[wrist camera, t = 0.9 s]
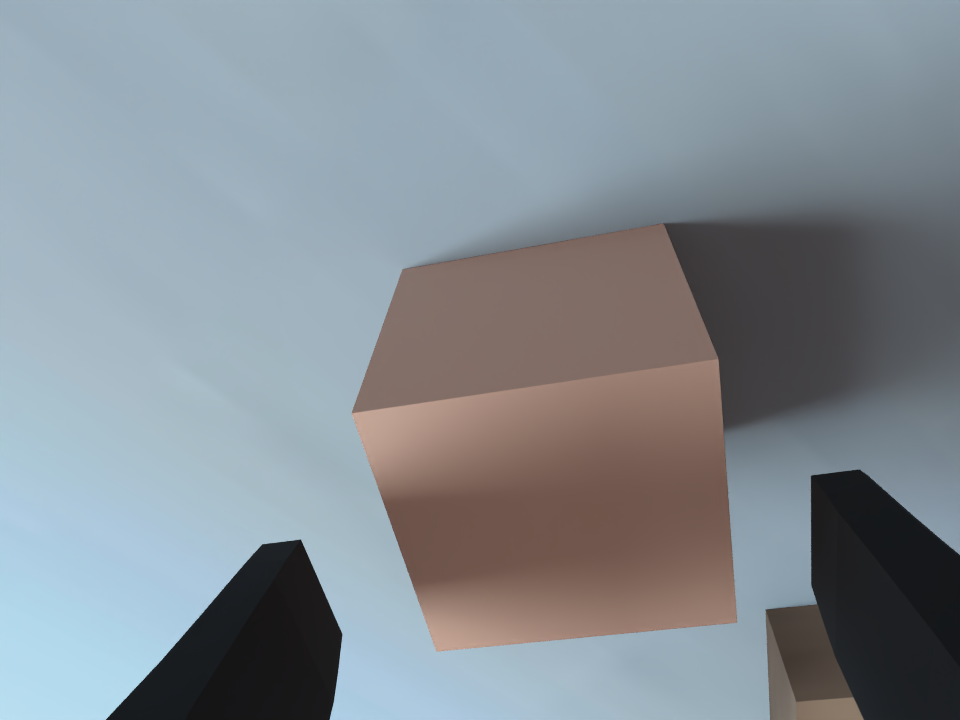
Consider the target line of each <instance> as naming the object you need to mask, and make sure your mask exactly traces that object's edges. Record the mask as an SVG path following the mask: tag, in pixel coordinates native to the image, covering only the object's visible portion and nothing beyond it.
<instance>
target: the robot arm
mask: <svg viewBox="0 0 960 720" xmlns="http://www.w3.org/2000/svg"><path fill="white" fill-rule="evenodd" d="M811 585H812V588H813V592H814V595H815V598H816V601H817V604H818V607H819V610H820V613H821V616H822V620H823V623H824V626H825V629H826V632H827V635H828V637H829V640H830V643H831V646H832V649H833V652H834V655H835V658H836V660H837V662H838V664H839V667H840V669H841V671H842V673H843V676H844V678H845V680H846V682H847V684H848V686H849V689H850V691H851V693H852V695H853V697H854V700H855V702H856V704H857V706H858V708H859V710H860V713H861V715H862V717H863V719H864V720H960V555H959V554H958V553H957V552H955V551H954V550H953V549H952V548H951V547H949V546H948V545H947V544H946V543H945V542H943V541H942V540H941V539H940V538H939V537H937V536H936V535H935V534H934V533H933V532H932V531H930V530H929V529H928V528H927V527H926V526H925V525H923V524H922V523H921V522H920V521H919V520H918V519H916V518H915V517H914V516H913V515H912V514H911V513H910V512H908V511H907V510H906V509H905V508H904V507H903V506H902V505H900V504H899V503H898V502H897V501H896V500H895V499H894V498H892V497H891V496H890V495H889V494H888V493H887V492H886V491H885V490H883V489H882V488H881V487H880V486H879V485H878V484H877V483H876V482H874V481H873V480H872V479H871V478H870V477H869V476H868V475H866V474H865V473H864V472H862V471H861V470H852V471H844V472H836V473H828V474H820V475H812V476H811ZM341 641H342V633H341V630H340V628H339V626H338V623H337V621H336V619H335V616H334V614H333V612H332V610H331V607H330V605H329V603H328V600H327V598H326V596H325V594H324V591H323V589H322V587H321V584H320V582H319V580H318V578H317V575H316V573H315V571H314V568H313V566H312V564H311V562H310V559H309V557H308V555H307V552H306V550H305V548H304V546H303V543H302V541H301V540H294V541H286V542H278V543H270V544H262V546H261V547H260V548H259V549H258V550H257V551H256V552H255V553H254V554H253V555H252V556H251V558H250V559H249V560H248V561H247V562H246V563H245V564H244V565H243V567H242V568H241V569H240V570H239V571H238V572H237V574H236V575H235V576H234V577H233V578H232V579H231V581H230V582H229V583H228V584H227V585H226V586H225V588H224V589H223V590H222V591H221V592H220V593H219V595H218V596H217V597H216V598H215V599H214V601H213V602H212V603H211V604H210V605H209V606H208V608H207V609H206V610H205V611H204V612H203V613H202V615H201V616H200V617H199V618H198V619H197V620H196V621H195V623H194V624H193V625H192V626H191V627H190V628H189V629H188V631H187V632H186V633H185V634H184V635H183V636H182V638H181V639H180V640H179V641H178V642H177V643H176V644H175V646H174V647H173V648H172V649H171V650H170V651H169V652H168V654H167V655H166V656H165V657H164V658H163V659H162V660H161V661H160V663H159V664H158V665H157V666H156V667H155V668H154V669H153V670H152V671H151V672H150V673H149V674H148V675H147V677H146V678H145V679H144V680H143V681H142V682H141V683H140V684H139V685H138V686H137V687H136V688H135V689H134V690H133V691H132V692H131V694H130V695H129V696H128V697H127V698H126V699H125V700H124V701H123V702H122V703H121V704H120V705H119V706H118V707H117V708H116V709H115V711H114V712H113V713H112V714H111V715H110V716H109V717H108V718H107V719H106V720H329V719H330V715H331V711H332V707H333V703H334V696H335V689H336V682H337V675H338V668H339V659H340V650H341Z"/></svg>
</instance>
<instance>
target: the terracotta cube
mask: <svg viewBox="0 0 960 720" xmlns="http://www.w3.org/2000/svg"><path fill="white" fill-rule="evenodd" d="M352 416H353V418H354V421H355V424H356V427H357V430H358V432H359V435H360V438H361V441H362V444H363V446H364V449H365V452H366V455H367V458H368V461H369V463H370V466H371V469H372V472H373V475H374V477H375V480H376V483H377V486H378V489H379V491H380V494H381V497H382V500H383V503H384V505H385V508H386V511H387V514H388V517H389V519H390V522H391V525H392V528H393V531H394V533H395V536H396V539H397V542H398V545H399V548H400V550H401V553H402V556H403V559H404V562H405V564H406V567H407V570H408V573H409V576H410V578H411V581H412V584H413V587H414V590H415V592H416V595H417V598H418V601H419V604H420V606H421V609H422V612H423V615H424V618H425V620H426V623H427V626H428V629H429V632H430V635H431V637H432V640H433V643H434V646H435V649H436V651H448V650H458V649H468V648H479V647H489V646H499V645H510V644H520V643H531V642H541V641H551V640H562V639H572V638H582V637H593V636H603V635H614V634H624V633H634V632H645V631H655V630H666V629H676V628H686V627H697V626H707V625H717V624H728V623H737V613H736V599H735V585H734V571H733V557H732V543H731V529H730V514H729V500H728V486H727V472H726V458H725V444H724V430H723V415H722V401H721V387H720V373H719V359H718V356H717V354H716V352H715V349H714V347H713V344H712V342H711V339H710V337H709V334H708V332H707V329H706V327H705V324H704V322H703V320H702V317H701V315H700V312H699V310H698V307H697V305H696V302H695V300H694V297H693V295H692V292H691V290H690V287H689V285H688V283H687V280H686V278H685V275H684V273H683V270H682V268H681V265H680V263H679V260H678V258H677V255H676V253H675V251H674V248H673V246H672V243H671V241H670V238H669V236H668V233H667V231H666V228H665V226H664V223H663V224H658V225H652V226H646V227H641V228H635V229H629V230H624V231H618V232H612V233H607V234H601V235H595V236H590V237H584V238H578V239H573V240H567V241H561V242H556V243H550V244H544V245H539V246H533V247H527V248H522V249H516V250H510V251H505V252H499V253H493V254H488V255H482V256H477V257H471V258H465V259H460V260H454V261H448V262H443V263H437V264H431V265H426V266H420V267H414V268H409V269H403V270H402V272H401V275H400V278H399V281H398V284H397V287H396V289H395V292H394V295H393V298H392V301H391V304H390V306H389V309H388V312H387V315H386V318H385V321H384V323H383V326H382V329H381V332H380V335H379V338H378V340H377V343H376V346H375V349H374V352H373V354H372V357H371V360H370V363H369V366H368V369H367V371H366V374H365V377H364V380H363V383H362V386H361V388H360V391H359V394H358V397H357V400H356V403H355V405H354V408H353V411H352Z"/></svg>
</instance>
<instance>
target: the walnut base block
mask: <svg viewBox="0 0 960 720" xmlns="http://www.w3.org/2000/svg"><path fill="white" fill-rule="evenodd" d="M766 630H767V654H768V678H769V702H770V720H864V719H863V717H862V715H861V713H860V710H859V708H858V706H857V704H856V702H855V700H854V697H853V695H852V693H851V691H850V689H849V686H848V684H847V682H846V680H845V678H844V676H843V673H842V671H841V669H840V667H839V664H838V662H837V660H836V658H835V655H834V652H833V649H832V646H831V643H830V640H829V637H828V635H827V632H826V629H825V626H824V623H823V620H822V616H821V613H820V610H819V607H818V605H808V606H798V607H787V608H777V609H767V610H766Z"/></svg>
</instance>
